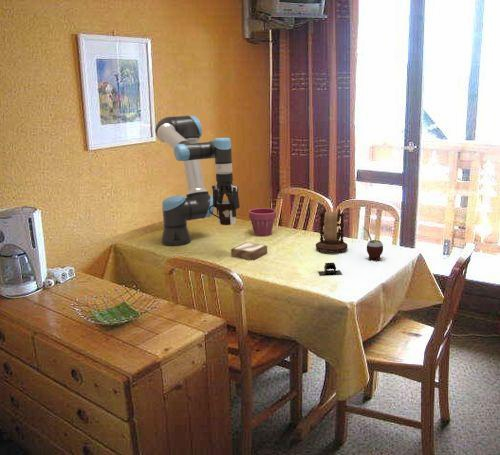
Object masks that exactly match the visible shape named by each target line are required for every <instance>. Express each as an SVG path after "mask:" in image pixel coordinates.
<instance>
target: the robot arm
mask: <svg viewBox="0 0 500 455" xmlns="http://www.w3.org/2000/svg"><path fill="white" fill-rule="evenodd" d="M154 128H155V129H154V132H155V136H156V137H157V139H158V140H159V141H161V142H163V143H165V144H166V145H168V146H169V147H170V148H171V149H172V150H173V154H174V157H175V160H176V161H177V162H183V166H184V173H185V177H186V178H185V179H186V184H187V193H186V195H181V194H180V195H172V196H169V197H166V198H165V199H163V200H162V206H161V210H162V218H163V220H162V221H163V231H162V235H161V244H162V243H163V244H162V245H164V244H165V245H164V246H169V247H170V246H171V247H174V246H175V247H176V246H183V245H187V244H190V243H191V242H192V237H191V234H190V231H189V229H188V226H187V224H188V223H187V221H193V220H200V219H207V218H210V217H212V216H213V215H212V214H211V213H210V212H209V207H210V206H212V205H215V206H217V202H218V203H219V204H222V201H224V195H225V196H226V197H227V200H228V201H229V203H231V210H230V223H231V225H230V226H232V225H236V218H237V210H238V209H240V207H241V206H240V198H239V186H235V185H234V184H233V180H234V176H233V174H234V173H233V160H232V159H233V158H232V157H233V156H232V155H233V154H232V142H231V138H230V137H216V138H214V140H211V141H210V140H209V141H204V142H200V138H201V137H202V136H203V129H202V128H203V126H202V124H201V122H200V120H199V118H198V117H197V116H195V115H188V114H187V115H178V116H176V115H175V116H166V117H163V118H162V119H160V120H159V121H158V122H157V124H156V125H155V127H154ZM207 159H214V165H215V167H214V168H215V173H216V174H215V181H216V184H215V185H212V186H211V189H212V194H210V193H209V190H207V188H206V187H205V182H204V177H203V170H202V169H203V168H202V163H201V160H207ZM185 196H186V197H185ZM233 206H234V207H233ZM210 211H211V212H212V213H213V214H214V211H215V207H211V208H210ZM216 216H218V217H219V212H218V210H217V209H216ZM218 217H217V218H218ZM218 224H220V219H219V218H218Z"/></svg>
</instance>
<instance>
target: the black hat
mask: <svg viewBox="0 0 500 455" xmlns="http://www.w3.org/2000/svg"><path fill="white" fill-rule="evenodd" d="M323 268H324V269H323V270H318V271H317V273H318V275H319V276H320V277H327V276H328V277H329V276H343V275H344V274H343V273H342V272H341V270H340V269H337V266H336V264H335V262H325V263H324V266H323Z"/></svg>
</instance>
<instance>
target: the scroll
mask: <svg viewBox="0 0 500 455" xmlns="http://www.w3.org/2000/svg"><path fill="white" fill-rule="evenodd" d="M319 215H320V216H319V218H320V219H319V221H320V222H319V227H320V229H319V235H320V236H319V237H320V238H319V241H317V243H316V244H315V248H316V249H317V250H318V253H321V251H323V252H331V253H332V252H334V253H335V252H338V254H341V253H342V252H343V251H345V250H347V249H348V243H346V242H345V241H344V236H345V233H344V227H345V222H344V221H345V220H344V217H345V214H344V213H343V212H341V210H340V208H338V209H337V211H327V209H326V208H323V211H320V212H319ZM339 221H340V222H339ZM338 227H339V228H338Z"/></svg>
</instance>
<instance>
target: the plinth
mask: <svg viewBox="0 0 500 455" xmlns="http://www.w3.org/2000/svg"><path fill="white" fill-rule="evenodd" d="M230 251H231V258H236V259H243V260H248V261H252V260H253V261H256V260H257V259H260V258H261V257H263V256H265V255H267V254H268V245H265V244H257V243H252V242H243V243H241V244H239V245H237V246H235V247H232V248H231V249H230ZM253 261H252V262H253Z"/></svg>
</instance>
